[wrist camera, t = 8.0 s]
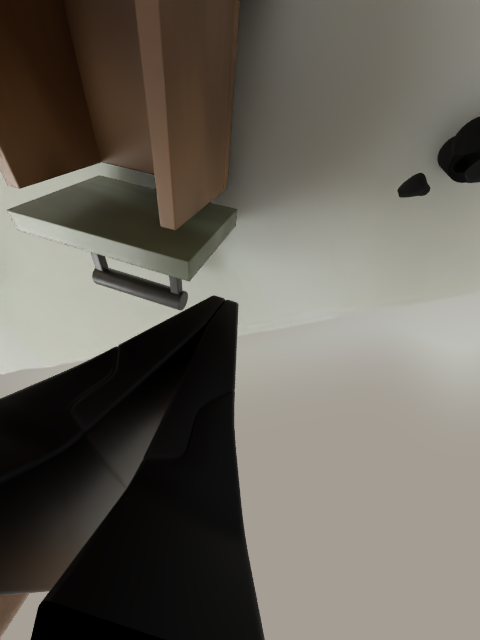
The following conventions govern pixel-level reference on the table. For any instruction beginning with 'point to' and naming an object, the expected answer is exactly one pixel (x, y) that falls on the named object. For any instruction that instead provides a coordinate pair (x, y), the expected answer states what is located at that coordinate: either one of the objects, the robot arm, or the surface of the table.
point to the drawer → (122, 129)
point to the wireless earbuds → (452, 161)
